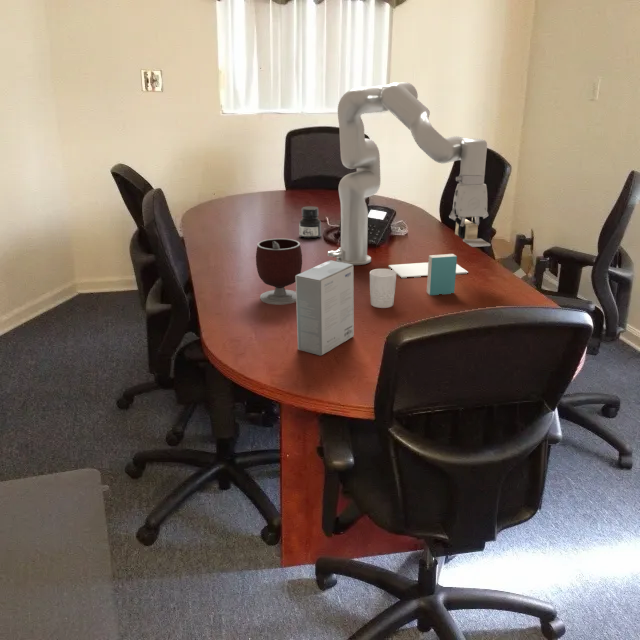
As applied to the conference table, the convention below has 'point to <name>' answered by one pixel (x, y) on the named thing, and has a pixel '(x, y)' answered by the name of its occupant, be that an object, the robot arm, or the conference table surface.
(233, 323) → the conference table surface
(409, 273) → the mat
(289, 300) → the mate gourd
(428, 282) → the tile
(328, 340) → the hard drive box
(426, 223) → the conference table surface
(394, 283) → the white cup
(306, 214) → the ink bottle
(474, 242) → the cream block on base
